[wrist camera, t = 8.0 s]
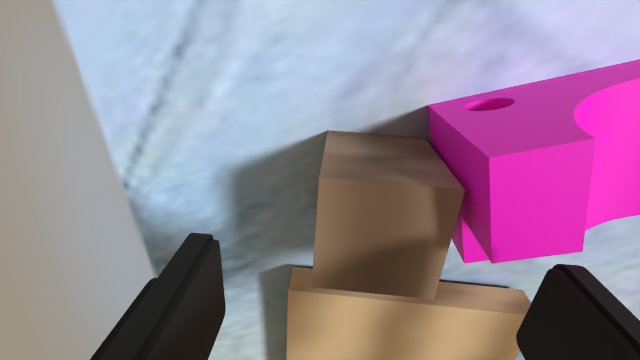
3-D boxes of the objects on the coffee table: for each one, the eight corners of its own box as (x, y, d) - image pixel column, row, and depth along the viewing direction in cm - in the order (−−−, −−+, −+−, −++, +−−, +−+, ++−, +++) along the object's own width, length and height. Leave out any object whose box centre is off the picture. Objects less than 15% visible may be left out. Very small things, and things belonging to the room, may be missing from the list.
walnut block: (424, 138, 16) (465, 189, 11) (407, 220, 18) (433, 299, 13) (327, 130, 16) (319, 177, 11) (321, 212, 18) (311, 287, 13)
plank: (522, 290, 19) (540, 317, 17) (478, 378, 23) (489, 407, 21) (292, 266, 20) (287, 291, 18) (290, 356, 24) (285, 384, 22)
